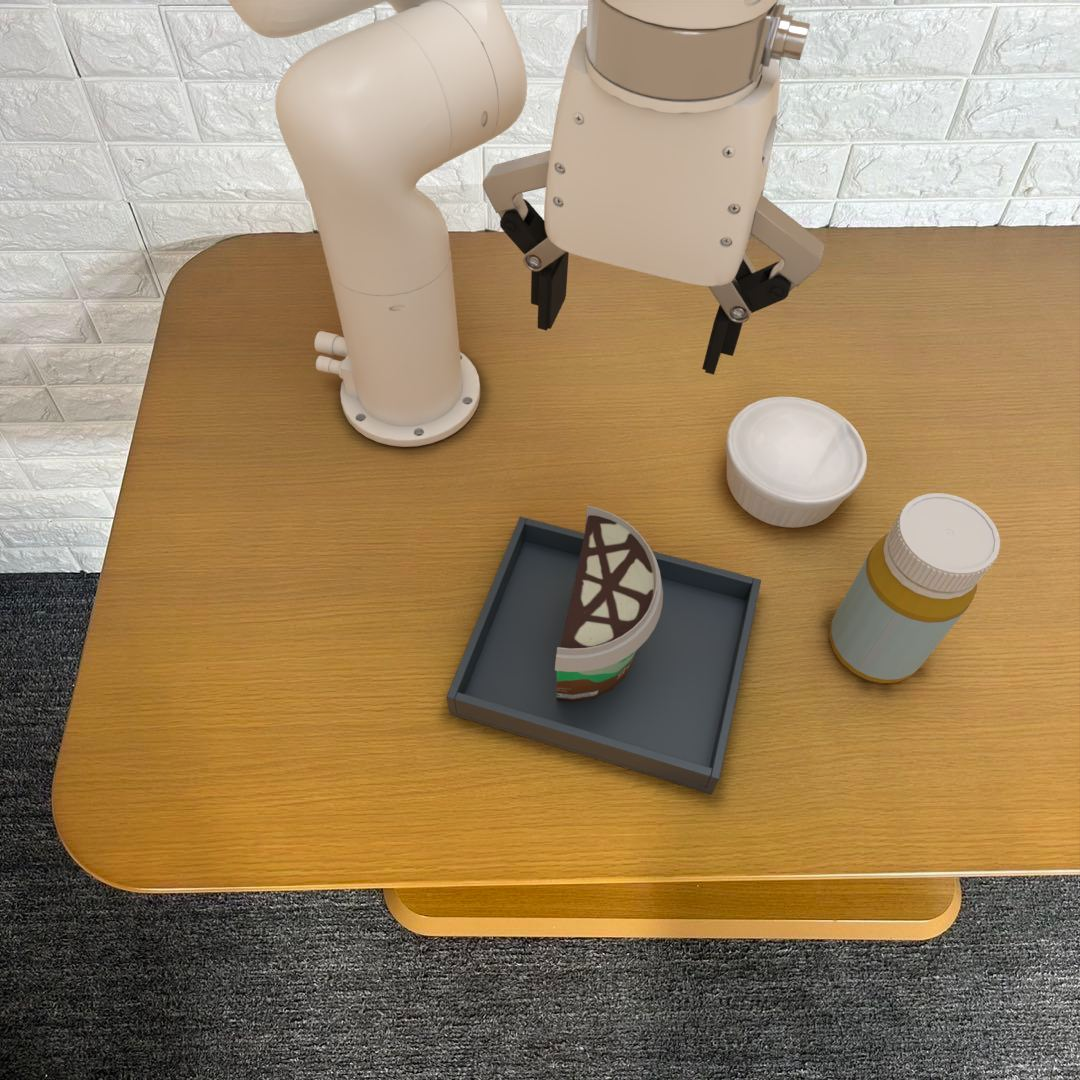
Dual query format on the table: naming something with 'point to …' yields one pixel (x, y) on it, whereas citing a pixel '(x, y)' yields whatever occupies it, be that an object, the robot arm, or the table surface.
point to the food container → (607, 608)
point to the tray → (650, 684)
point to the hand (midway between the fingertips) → (631, 334)
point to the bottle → (913, 587)
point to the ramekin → (792, 460)
